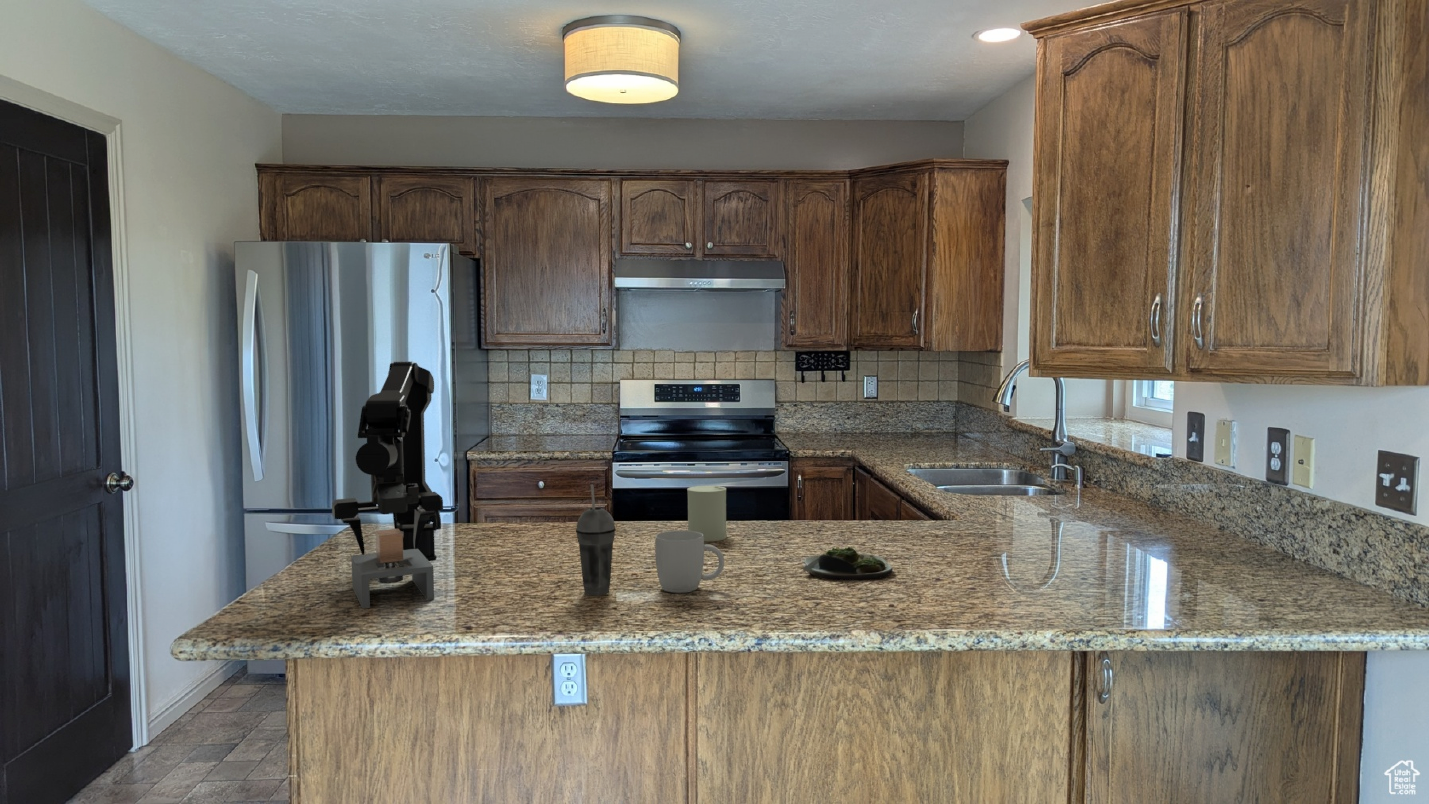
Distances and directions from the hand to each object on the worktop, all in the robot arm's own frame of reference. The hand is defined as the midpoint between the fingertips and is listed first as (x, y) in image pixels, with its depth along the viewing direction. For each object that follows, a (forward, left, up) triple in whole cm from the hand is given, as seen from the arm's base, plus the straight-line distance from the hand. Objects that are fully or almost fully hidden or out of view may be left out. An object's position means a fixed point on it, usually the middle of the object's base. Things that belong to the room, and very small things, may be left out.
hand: (389, 551), depth 167 cm
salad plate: (-82, +29, -8) cm, 87 cm away
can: (-72, -12, -8) cm, 73 cm away
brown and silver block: (0, 0, -5) cm, 5 cm away
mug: (-49, +26, -8) cm, 56 cm away
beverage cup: (-33, +20, -8) cm, 39 cm away
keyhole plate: (0, +2, -7) cm, 8 cm away
